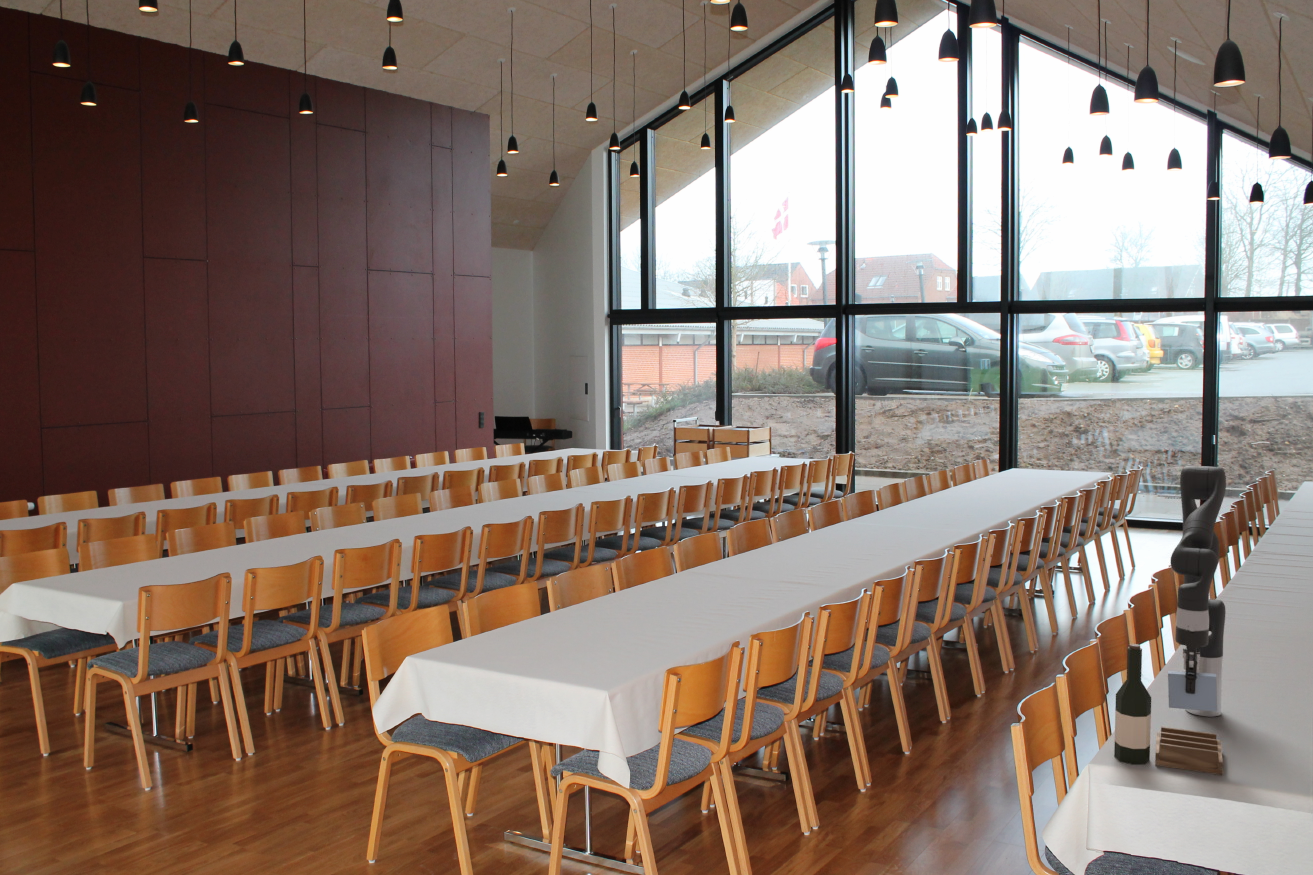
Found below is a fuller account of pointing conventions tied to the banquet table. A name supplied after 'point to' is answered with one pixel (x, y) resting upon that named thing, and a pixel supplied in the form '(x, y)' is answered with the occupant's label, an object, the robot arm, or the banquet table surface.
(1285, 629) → the banquet table surface
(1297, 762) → the banquet table surface
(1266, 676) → the banquet table surface
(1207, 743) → the rack
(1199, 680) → the light blue flat block
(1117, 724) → the wine bottle
